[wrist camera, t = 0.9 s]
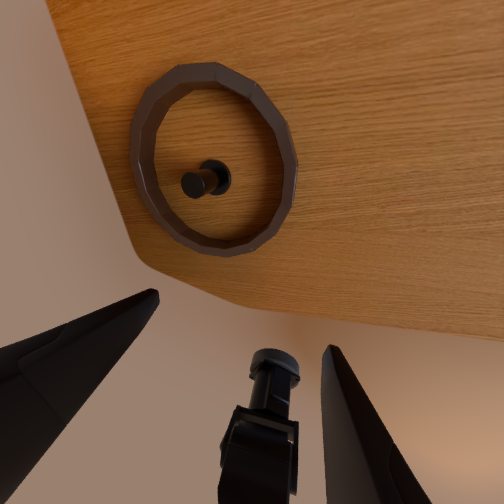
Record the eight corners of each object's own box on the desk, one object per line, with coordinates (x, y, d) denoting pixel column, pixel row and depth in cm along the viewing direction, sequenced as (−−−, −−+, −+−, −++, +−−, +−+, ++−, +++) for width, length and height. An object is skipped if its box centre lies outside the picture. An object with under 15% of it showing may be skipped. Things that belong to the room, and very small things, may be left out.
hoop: (254, 269, 23) (250, 279, 21) (139, 210, 23) (126, 215, 21) (334, 127, 15) (338, 124, 13) (155, 34, 15) (135, 19, 13)
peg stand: (225, 199, 19) (205, 213, 16) (197, 185, 20) (170, 195, 16) (236, 169, 18) (216, 175, 14) (205, 153, 18) (177, 155, 14)
